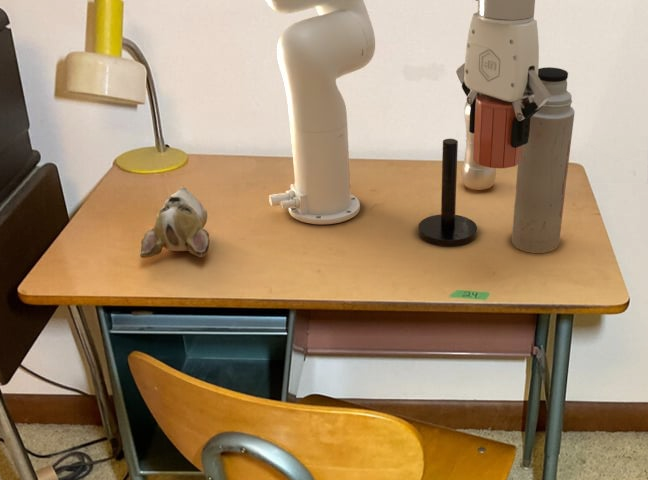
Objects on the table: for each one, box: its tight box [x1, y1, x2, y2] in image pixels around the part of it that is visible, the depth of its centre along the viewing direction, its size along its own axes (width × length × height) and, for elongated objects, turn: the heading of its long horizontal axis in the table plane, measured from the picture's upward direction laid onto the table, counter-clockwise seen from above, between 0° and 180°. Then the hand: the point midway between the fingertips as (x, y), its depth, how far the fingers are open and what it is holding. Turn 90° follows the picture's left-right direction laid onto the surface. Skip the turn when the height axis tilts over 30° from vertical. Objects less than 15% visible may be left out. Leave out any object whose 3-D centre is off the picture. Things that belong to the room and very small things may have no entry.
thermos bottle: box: [511, 66, 575, 254], centre depth 134 cm, size 8×8×28 cm
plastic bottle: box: [461, 101, 497, 191], centre depth 154 cm, size 6×7×20 cm
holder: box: [418, 138, 478, 248], centre depth 139 cm, size 10×10×16 cm
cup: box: [473, 93, 524, 169], centre depth 122 cm, size 7×7×9 cm
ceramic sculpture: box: [139, 186, 211, 259], centre depth 136 cm, size 11×9×15 cm
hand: (498, 137), depth 123 cm, fingers closed on cup, 7 cm apart
